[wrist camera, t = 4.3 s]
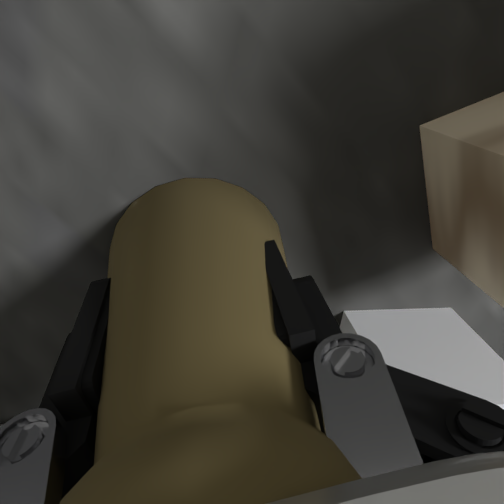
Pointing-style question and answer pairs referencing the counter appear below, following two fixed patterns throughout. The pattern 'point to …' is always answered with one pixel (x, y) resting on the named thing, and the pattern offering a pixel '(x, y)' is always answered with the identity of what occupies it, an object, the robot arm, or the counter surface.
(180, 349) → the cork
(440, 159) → the maple block
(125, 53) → the counter surface
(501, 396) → the light grey block
